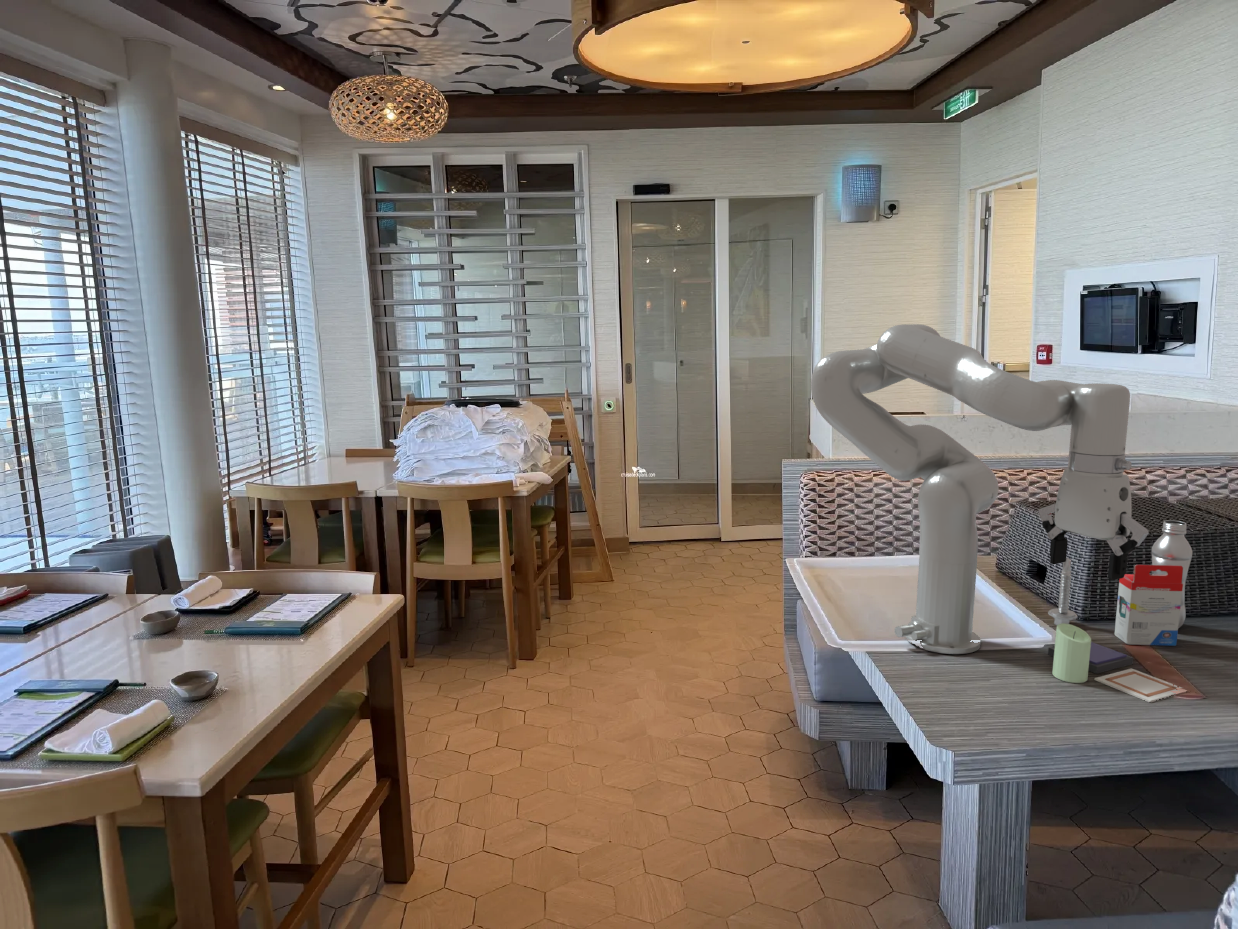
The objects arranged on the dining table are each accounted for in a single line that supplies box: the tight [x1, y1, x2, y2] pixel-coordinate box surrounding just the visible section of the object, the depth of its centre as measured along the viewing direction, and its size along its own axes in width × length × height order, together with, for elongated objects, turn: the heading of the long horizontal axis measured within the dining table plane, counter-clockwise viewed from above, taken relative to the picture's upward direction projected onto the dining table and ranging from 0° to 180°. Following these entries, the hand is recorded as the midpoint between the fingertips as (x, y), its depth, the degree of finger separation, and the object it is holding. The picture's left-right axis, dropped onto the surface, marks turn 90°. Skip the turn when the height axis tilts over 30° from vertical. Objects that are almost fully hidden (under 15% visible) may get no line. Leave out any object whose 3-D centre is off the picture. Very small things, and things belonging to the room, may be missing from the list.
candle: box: [1051, 623, 1092, 684], centre depth 136 cm, size 5×5×8 cm
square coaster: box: [1094, 668, 1183, 703], centre depth 133 cm, size 9×9×1 cm
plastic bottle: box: [1151, 519, 1194, 629], centre depth 157 cm, size 6×7×20 cm
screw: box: [1047, 557, 1078, 626], centre depth 159 cm, size 13×5×5 cm
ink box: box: [1114, 564, 1183, 647], centre depth 150 cm, size 8×5×15 cm, turn 84°
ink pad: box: [1047, 641, 1134, 675], centre depth 143 cm, size 9×9×2 cm
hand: (1085, 570), depth 134 cm, fingers open, 9 cm apart
